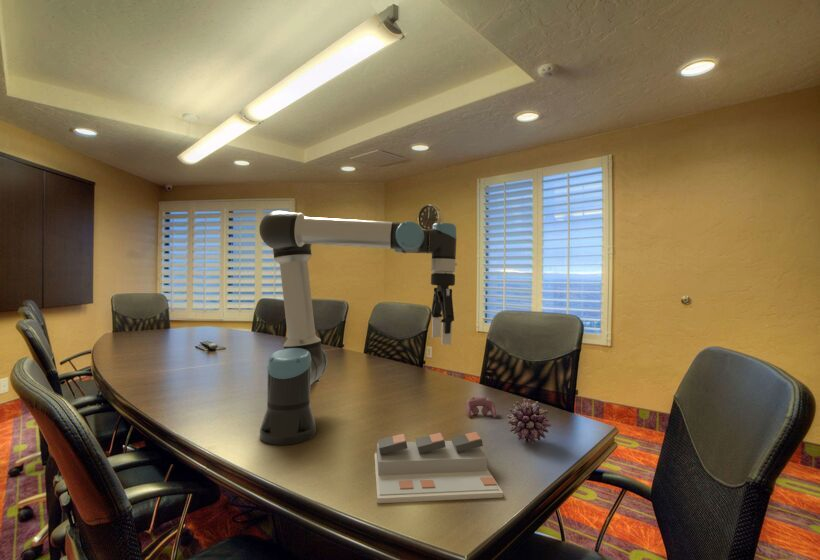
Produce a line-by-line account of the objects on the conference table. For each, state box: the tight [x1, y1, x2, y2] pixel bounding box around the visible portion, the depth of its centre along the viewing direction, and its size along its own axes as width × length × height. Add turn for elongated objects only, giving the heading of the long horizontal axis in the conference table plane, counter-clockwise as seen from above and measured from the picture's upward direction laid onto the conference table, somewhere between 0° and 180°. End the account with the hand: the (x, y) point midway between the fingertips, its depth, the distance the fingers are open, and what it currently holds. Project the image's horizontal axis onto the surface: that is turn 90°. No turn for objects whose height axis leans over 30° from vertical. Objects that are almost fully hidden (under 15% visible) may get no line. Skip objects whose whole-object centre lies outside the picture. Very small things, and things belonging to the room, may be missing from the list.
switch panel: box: [374, 440, 504, 504], centre depth 89 cm, size 26×20×4 cm
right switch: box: [450, 431, 484, 452], centre depth 94 cm, size 6×5×2 cm
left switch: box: [377, 433, 407, 455], centre depth 91 cm, size 6×5×2 cm
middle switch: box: [414, 432, 446, 454], centre depth 92 cm, size 6×5×2 cm
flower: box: [507, 398, 552, 445], centre depth 108 cm, size 12×12×12 cm
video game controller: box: [465, 396, 497, 419], centre depth 129 cm, size 10×5×7 cm, turn 92°
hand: (440, 340), depth 121 cm, fingers open, 13 cm apart
